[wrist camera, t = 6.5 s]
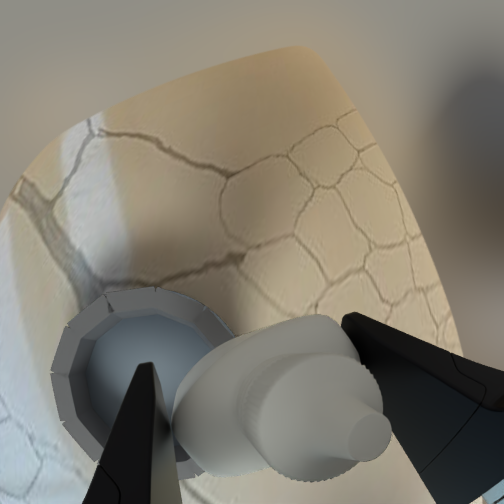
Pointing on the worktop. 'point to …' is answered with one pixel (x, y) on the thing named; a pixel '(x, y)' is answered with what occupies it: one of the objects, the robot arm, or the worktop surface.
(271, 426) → the eye dropper bottle
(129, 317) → the grey segmented round bowl
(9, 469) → the worktop surface
